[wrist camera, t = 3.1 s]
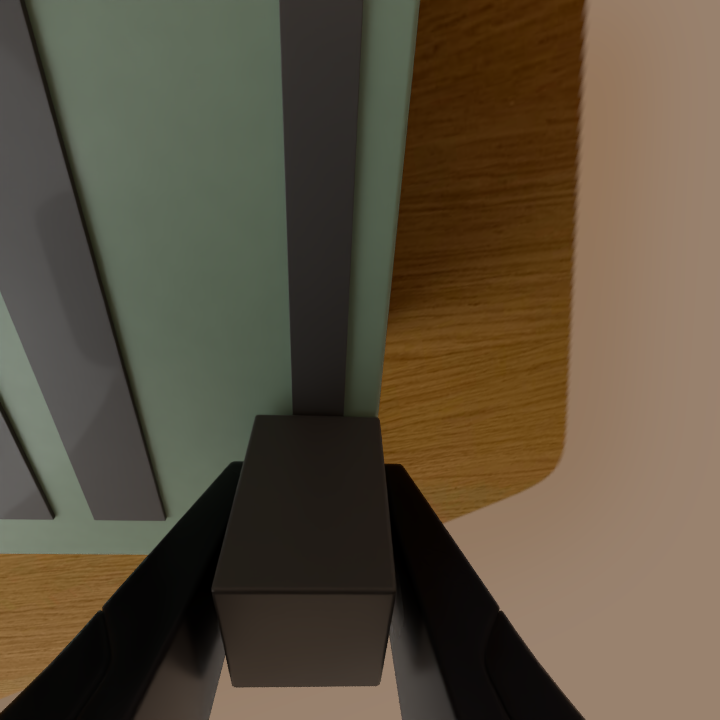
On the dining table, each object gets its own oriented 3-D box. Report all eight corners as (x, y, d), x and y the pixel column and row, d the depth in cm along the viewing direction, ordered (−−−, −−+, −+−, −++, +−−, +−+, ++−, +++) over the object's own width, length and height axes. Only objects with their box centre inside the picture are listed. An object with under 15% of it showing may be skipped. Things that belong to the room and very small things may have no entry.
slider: (380, 415, 9) (398, 592, 6) (370, 510, 10) (380, 688, 7) (254, 412, 9) (209, 591, 6) (263, 508, 10) (231, 689, 7)
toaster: (386, -82, 13) (491, -449, 4) (359, 343, 21) (371, 565, 12) (13, -114, 12) (-951, -640, 3) (129, 336, 20) (-52, 563, 11)
